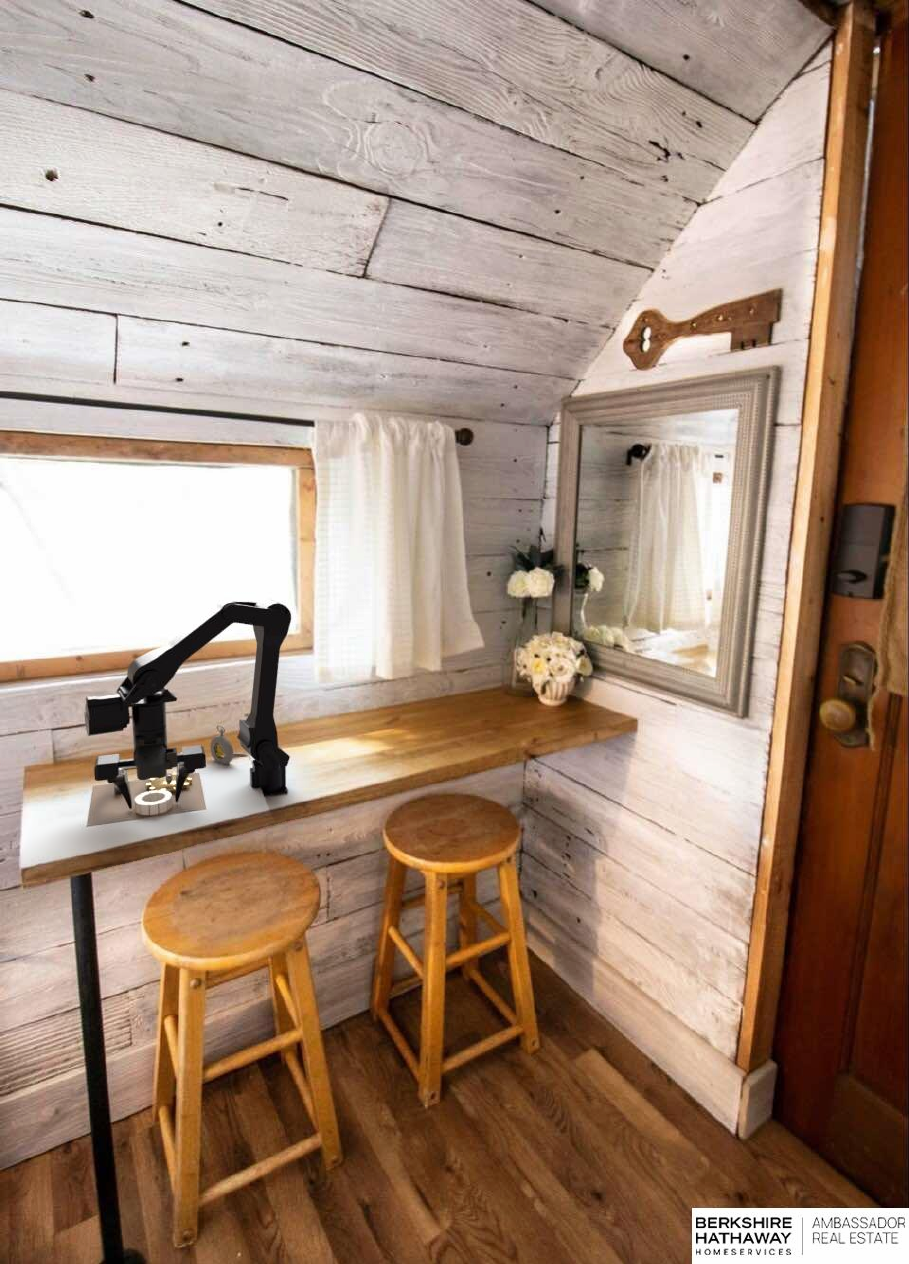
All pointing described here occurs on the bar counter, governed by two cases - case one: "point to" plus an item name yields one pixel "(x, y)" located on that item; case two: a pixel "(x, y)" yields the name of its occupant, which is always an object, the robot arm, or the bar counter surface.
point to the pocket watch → (223, 749)
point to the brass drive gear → (166, 783)
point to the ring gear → (153, 802)
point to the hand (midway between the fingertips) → (153, 804)
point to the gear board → (115, 808)
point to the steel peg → (117, 790)
